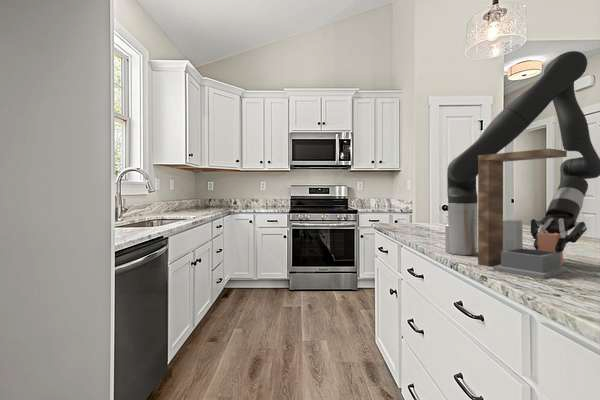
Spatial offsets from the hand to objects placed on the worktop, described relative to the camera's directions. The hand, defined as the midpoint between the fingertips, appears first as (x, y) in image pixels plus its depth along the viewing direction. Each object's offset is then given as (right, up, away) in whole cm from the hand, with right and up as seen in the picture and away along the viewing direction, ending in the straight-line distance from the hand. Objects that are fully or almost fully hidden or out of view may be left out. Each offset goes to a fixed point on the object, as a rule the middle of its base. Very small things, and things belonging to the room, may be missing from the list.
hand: (547, 249), depth 100 cm
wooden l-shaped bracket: (-9, -5, -2) cm, 11 cm away
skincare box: (-2, -5, +13) cm, 14 cm away
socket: (-8, -5, -5) cm, 11 cm away
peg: (+2, -5, +1) cm, 5 cm away
